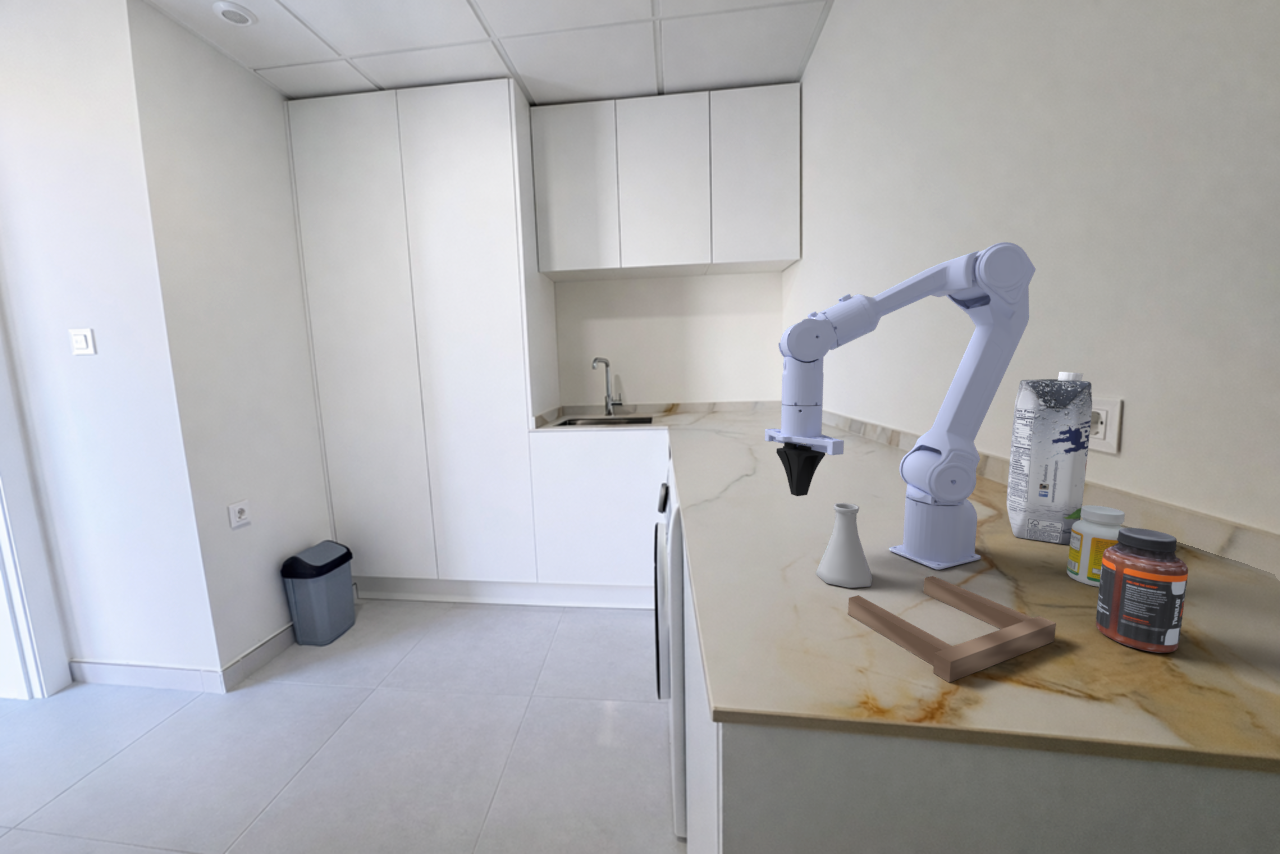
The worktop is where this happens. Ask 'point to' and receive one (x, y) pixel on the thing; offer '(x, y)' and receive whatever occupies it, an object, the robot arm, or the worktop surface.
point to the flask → (845, 552)
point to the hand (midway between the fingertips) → (799, 494)
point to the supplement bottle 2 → (1142, 591)
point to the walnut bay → (968, 656)
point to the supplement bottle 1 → (1092, 542)
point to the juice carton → (1049, 457)
